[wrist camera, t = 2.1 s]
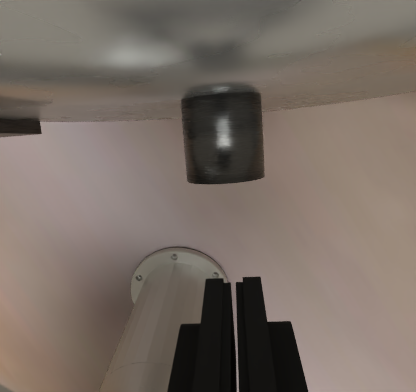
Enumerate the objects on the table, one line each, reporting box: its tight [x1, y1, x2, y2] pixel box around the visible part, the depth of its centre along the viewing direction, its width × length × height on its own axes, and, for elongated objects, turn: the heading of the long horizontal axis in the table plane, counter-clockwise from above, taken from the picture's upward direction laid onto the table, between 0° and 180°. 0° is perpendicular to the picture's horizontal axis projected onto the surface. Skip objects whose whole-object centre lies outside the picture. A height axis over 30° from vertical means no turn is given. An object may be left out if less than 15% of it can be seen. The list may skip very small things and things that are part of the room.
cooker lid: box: [0, 0, 416, 184], centre depth 12 cm, size 19×22×4 cm
